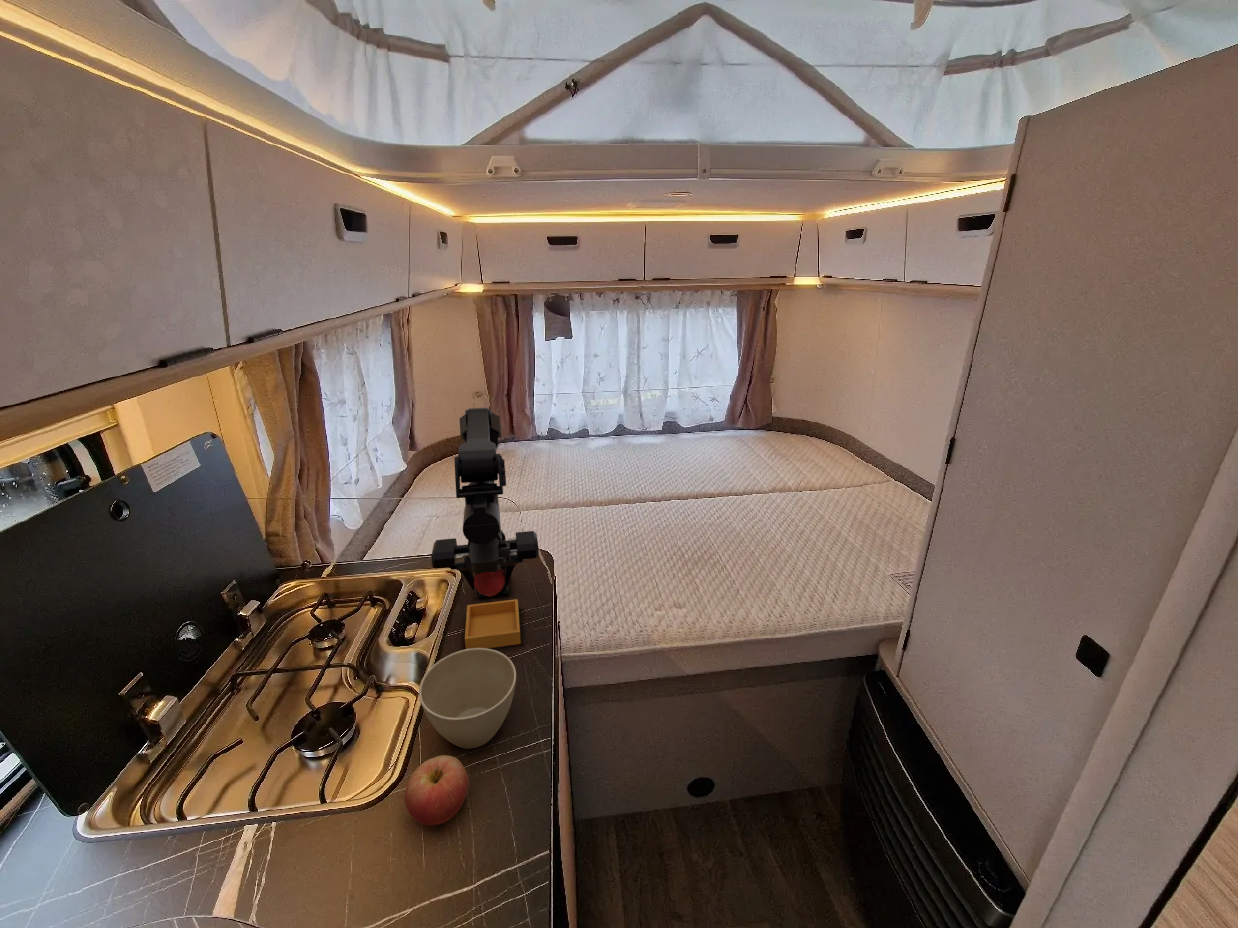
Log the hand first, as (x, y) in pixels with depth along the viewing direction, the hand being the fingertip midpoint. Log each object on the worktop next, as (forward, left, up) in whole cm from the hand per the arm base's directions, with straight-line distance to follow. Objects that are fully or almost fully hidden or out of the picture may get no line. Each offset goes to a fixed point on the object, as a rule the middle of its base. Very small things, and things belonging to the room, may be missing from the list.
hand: (490, 586), depth 98 cm
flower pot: (+22, -3, -11) cm, 25 cm away
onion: (0, 0, -2) cm, 2 cm away
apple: (+34, -7, -11) cm, 37 cm away
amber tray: (-1, 0, -11) cm, 11 cm away
